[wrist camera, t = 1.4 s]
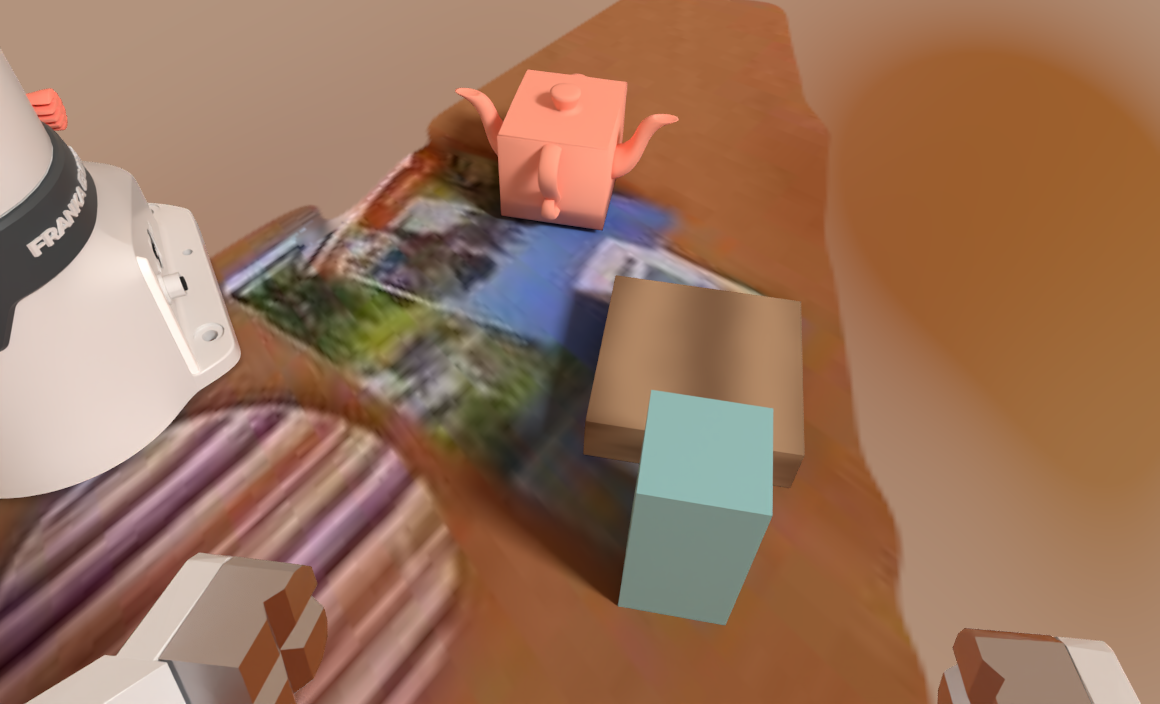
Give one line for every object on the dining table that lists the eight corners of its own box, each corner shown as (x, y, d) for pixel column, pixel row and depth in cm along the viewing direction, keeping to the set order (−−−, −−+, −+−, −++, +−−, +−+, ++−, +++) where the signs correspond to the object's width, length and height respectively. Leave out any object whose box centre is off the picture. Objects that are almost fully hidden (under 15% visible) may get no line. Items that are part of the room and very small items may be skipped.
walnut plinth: (583, 454, 42) (585, 420, 40) (612, 310, 49) (615, 275, 47) (790, 487, 41) (804, 455, 39) (789, 336, 48) (801, 301, 46)
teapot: (484, 135, 62) (478, 32, 55) (674, 161, 60) (689, 58, 54) (439, 230, 54) (425, 123, 48) (655, 263, 52) (670, 157, 46)
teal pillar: (617, 605, 37) (636, 493, 29) (631, 512, 40) (651, 389, 32) (725, 625, 36) (772, 515, 29) (730, 529, 39) (773, 408, 32)
